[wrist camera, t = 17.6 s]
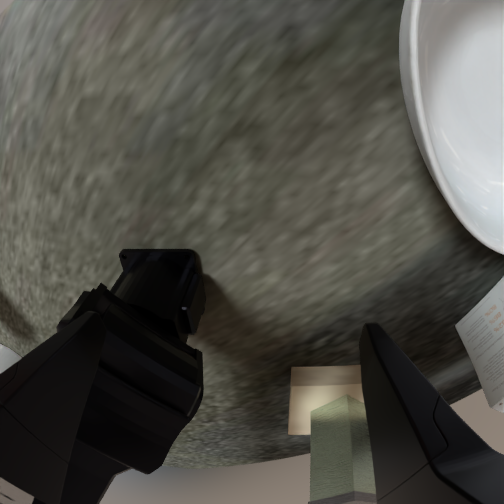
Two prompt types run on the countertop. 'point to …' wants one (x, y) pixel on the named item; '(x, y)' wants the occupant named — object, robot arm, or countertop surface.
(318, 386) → the wooden block
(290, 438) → the countertop surface
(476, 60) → the serving bowl
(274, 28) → the countertop surface
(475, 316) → the small box
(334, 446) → the tea tin
